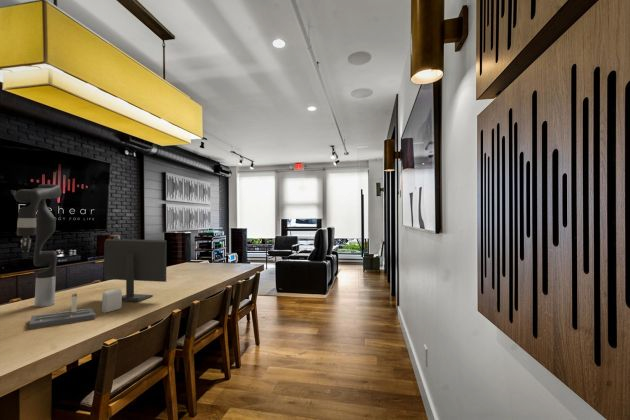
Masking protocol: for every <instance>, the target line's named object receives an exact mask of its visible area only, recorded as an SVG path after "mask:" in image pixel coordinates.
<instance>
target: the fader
mask: <svg viewBox="0 0 630 420" xmlns="http://www.w3.org/2000/svg"><path fill="white" fill-rule="evenodd" d="M77 298H78V293H72V294H71V308H70V309H71V310H69V311H70V313H74V312H77V310H78V309H77V304H78V303H77V302H78V299H77Z"/></svg>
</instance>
